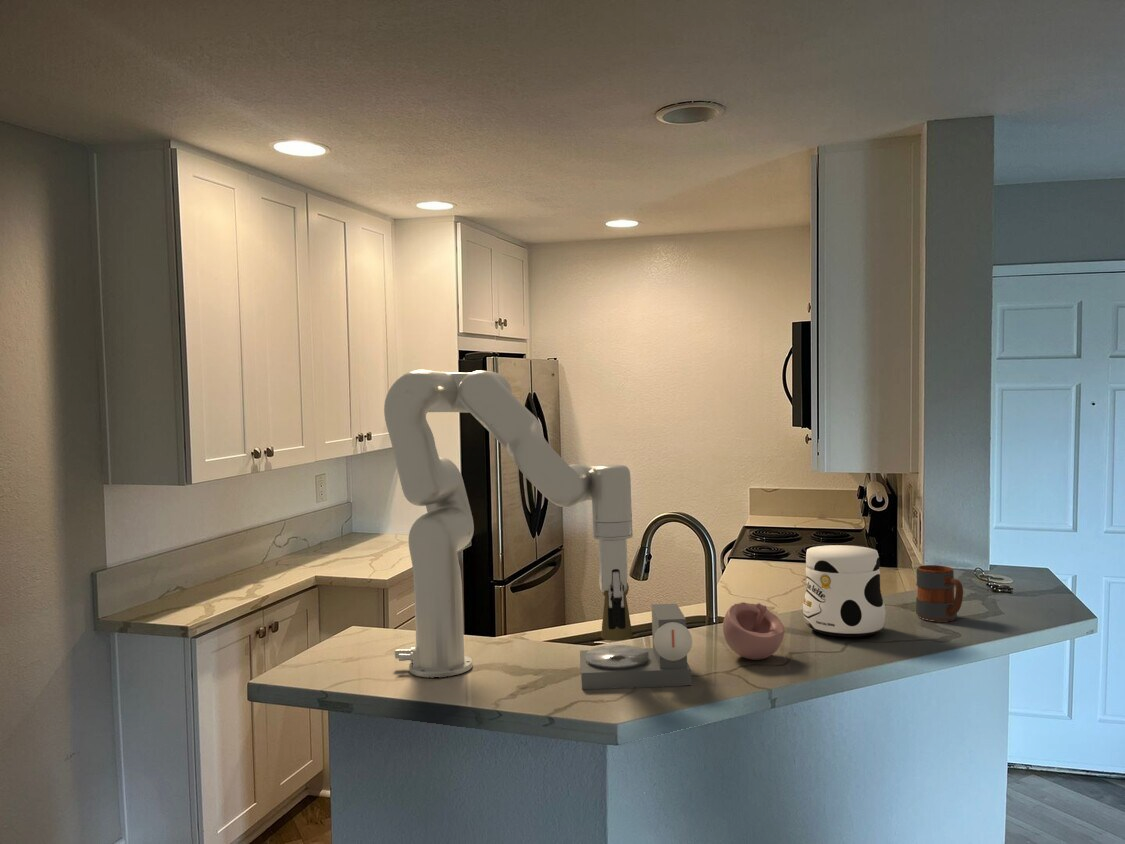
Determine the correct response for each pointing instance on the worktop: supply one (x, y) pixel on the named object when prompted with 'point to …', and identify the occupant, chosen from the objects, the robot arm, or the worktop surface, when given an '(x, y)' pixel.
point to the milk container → (843, 591)
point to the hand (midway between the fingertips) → (616, 624)
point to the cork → (616, 633)
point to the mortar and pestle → (752, 630)
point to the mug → (938, 593)
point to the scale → (650, 657)
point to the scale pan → (617, 657)
